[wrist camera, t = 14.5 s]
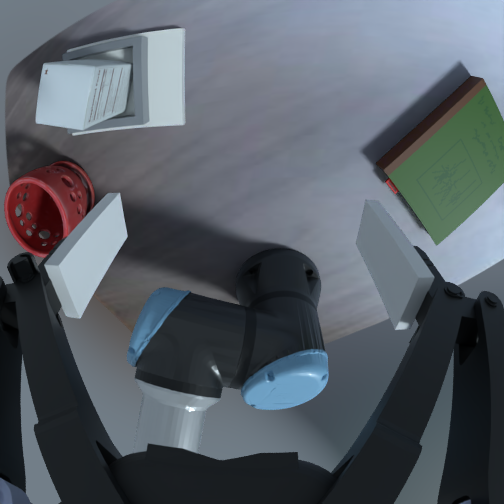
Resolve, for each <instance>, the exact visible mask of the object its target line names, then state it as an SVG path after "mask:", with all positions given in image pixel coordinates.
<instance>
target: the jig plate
mask: <svg viewBox="0 0 504 504" xmlns="http://www.w3.org/2000/svg"><path fill="white" fill-rule="evenodd" d="M85 59H103V60H114V61H122V62H129V63H133V80H132V84H131V88H130V92H129V97H128V101H127V106H126V110H125V112H123V113H120V114H118V115H116V116H113V117H111V118H109V119H106V120H104V121H102V122H100V123H97V124H95V125H93V126H91V127H89V128H87V129H84V130H77V129H71V128H67V130H68V134H70V133H73V135H79V134H86V133H93V132H101V131H110V130H119V129H129V128H140V127H154V126H171V125H184V124H185V29H184V28H178V29H168V30H160V31H152V32H145V33H139V34H133V35H128V36H122V37H117V38H112V39H108V40H103V41H99V42H95V43H91V44H87V45H83V46H79V47H76V48H72V49H69V50H67V53H64V54H63V61H70V60H85Z"/></svg>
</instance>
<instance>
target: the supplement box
mask: <svg viewBox="0 0 504 504" xmlns="http://www.w3.org/2000/svg"><path fill="white" fill-rule="evenodd" d="M132 80H133V63H129V62H122V61H114V60H103V59H85V60H70V61H59V62H49V63H44V64H43V69H42V74H41V80H40V86H39V94H38V101H37V110H36V123H38V124H45V125H51V126H58V127H64V128H71V129H77V130H84V129H87V128H89V127H91V126H93V125H95V124H97V123H100V122H102V121H104V120H106V119H109V118H111V117H113V116H116V115H118V114H120V113H123V112H125V110H126V106H127V101H128V97H129V92H130V88H131V84H132Z"/></svg>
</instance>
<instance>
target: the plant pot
mask: <svg viewBox="0 0 504 504" xmlns="http://www.w3.org/2000/svg"><path fill="white" fill-rule="evenodd" d="M27 184H28V186H27V187H26V185H27ZM18 193H19V195H18ZM25 193H27V196H26V198H25V199H24V200H23V196H24V194H25ZM17 195H18V197H17ZM94 201H95V194H94V188H93V185H92V183H91V180H90V178H89V177H88V175H87V174H86V172H85V171H84V170H83V169H82V168H81V167H79V166H78V165H76V164H74V163H72V162H69V161H58V162H55V163H53V164H51V165H50V166H45V167H41V168H38V169H35V170H33V171H30V172H28V173H26V174H25V175H23V176H21V177H20V178H18V179H17V180H15V181H14V182H13V183H12V184H11V185H10V187H9V189H8V191H7V193H6V197H5V202H4V211H5V218H6V221H7V224H8V227H9V229H10V231H11V233H12V235H13V237H14V238H15V239H16V241H17V242H18V243H19V244H20V245H21V246H22V247H23V248H24V249H25V250H26V251H28V252H30V253H32V254H33V255H35V256H38V257H43V258H45V257H46V256H47V255H49V252H50V251H51V250H53V248H54V246H55V245H56V244H57V243H58V242H59V241H60V240H62V239H63V238H65V237H66V236H68V235H69V234H70V233H71V232H72V231H73V230H74V229H75V228H76V226H77V225H78V224H79V223H80V222H81V221H82V220H83V219H84V218H85V217H86V215H87V214H88V213H89V212H90V211H91V210H92V209H93V207H94ZM18 204H21V206H22V212H21V215H20V216H18V217H17V216H16V213H15V209H16V207H17V205H18ZM27 213H30V215H31V219H30V220H28V219H27V218H26V214H27ZM20 220H22V221H23V226H22V225H21V224H20ZM33 224H34V225H36V229H34V228H32V225H33ZM26 230H29V231H31V233H32V235H31V236H28V235H27V233H26ZM41 231H47V232H49V233H50V237H49V238H48V239H42V238H40V237H39V232H41ZM56 235H59V236H58V237H55V236H56ZM54 243H56V244H54ZM42 244H47V245H46V246H42ZM52 244H54V245H52Z"/></svg>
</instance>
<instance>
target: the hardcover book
mask: <svg viewBox="0 0 504 504" xmlns="http://www.w3.org/2000/svg"><path fill="white" fill-rule="evenodd" d="M376 164H377V165H378V166H379V167H380V168H381V169H382V170H383V171H384V172H385V173H386V174H387V176H388V177H389V179H388V180H386V181H385V182H386V183H387V184H388V186H389V187H390V188H391V189H392V191H393V192H394V193H395V194H396V193H397V192H398V191H399V192H400V193H401V194H402V196H403V197H404V198H405V200H406V201H407V203H408V204H409V205H410V207H411V208H412V210H413V211H414V212H415V214H416V215H417V217H418V218H419V220H420V221H421V223H422V224H423V226H424V227H425V229H426V230H427V232H428V233H429V235H430V236H431V238H432V239H433V241H434V243H435V244H436V246H437V245H438V244H439V243H440V242H442V241H443V240H444V239H445V238H446V237H447V236H448V235H450V234H451V233H452V232H453V231H454V230H455V229H456V228H457V227H458V226H460V225H461V224H462V223H463V222H464V221H465V220H466V219H467V218H468V217H469V216H470V215H471V214H473V213H474V212H475V211H476V210H477V209H478V208H479V207H480V206H481V205H482V204H483V203H484V202H485V201H486V200H487V199H488V198H489V197H490V196H491V195H492V194H493V193H494V192H495V191H496V190H497V189H498V188H499V187H500V186H501V185H502V184H503V183H504V121H503V118H502V116H501V114H500V112H499V109H498V107H497V105H496V103H495V101H494V99H493V97H492V95H491V93H490V91H489V89H488V87H487V85H486V83H485V81H484V79H483V78H479V77H474V76H471V77H469V78H468V79H467V80H466V81H465V82H464V83H463V84H462V85H461V86H460V87H459V88H458V89H457V90H456V91H454V92H453V93H452V94H451V95H450V96H449V97H448V98H447V99H446V100H445V101H444V102H443V103H441V104H440V105H439V106H438V107H437V108H436V109H435V110H434V111H433V112H432V113H431V114H429V115H428V116H427V117H426V118H425V119H424V120H423V121H422V122H421V123H420V124H418V125H417V126H416V127H415V128H414V129H413V130H412V131H411V132H410V133H409V134H407V135H406V136H405V137H404V138H403V139H402V140H401V141H400V142H399V143H398V144H396V145H395V146H394V147H393V148H392V149H391V150H390V151H389V152H388V153H386V154H385V155H384V156H383V157H382V158H381V159H380V160H379V161H378V162H376Z"/></svg>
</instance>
